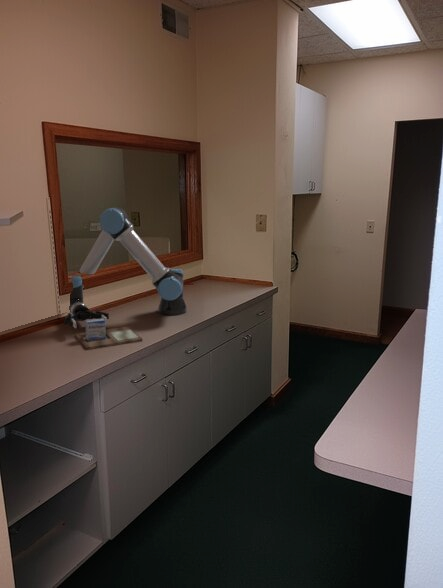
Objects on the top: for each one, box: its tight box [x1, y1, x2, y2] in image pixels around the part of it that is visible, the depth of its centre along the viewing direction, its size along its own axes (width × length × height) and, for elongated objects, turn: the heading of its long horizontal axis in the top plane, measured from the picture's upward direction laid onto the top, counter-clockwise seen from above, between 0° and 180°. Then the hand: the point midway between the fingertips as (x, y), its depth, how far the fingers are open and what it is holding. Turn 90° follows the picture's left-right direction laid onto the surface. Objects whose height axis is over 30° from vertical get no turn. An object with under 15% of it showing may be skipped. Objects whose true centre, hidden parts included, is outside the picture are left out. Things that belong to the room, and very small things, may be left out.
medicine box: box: [84, 318, 107, 342], centre depth 205 cm, size 8×4×9 cm, turn 117°
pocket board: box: [75, 326, 143, 351], centre depth 207 cm, size 24×20×1 cm
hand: (91, 323), depth 208 cm, fingers open, 13 cm apart
